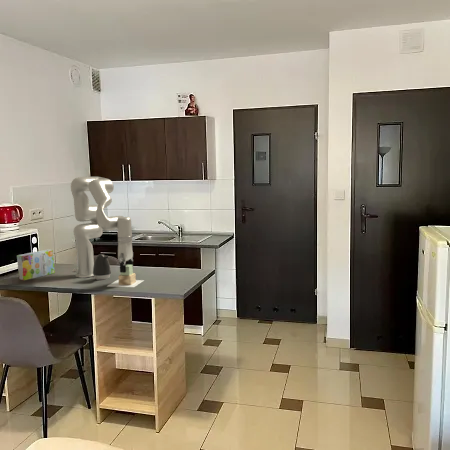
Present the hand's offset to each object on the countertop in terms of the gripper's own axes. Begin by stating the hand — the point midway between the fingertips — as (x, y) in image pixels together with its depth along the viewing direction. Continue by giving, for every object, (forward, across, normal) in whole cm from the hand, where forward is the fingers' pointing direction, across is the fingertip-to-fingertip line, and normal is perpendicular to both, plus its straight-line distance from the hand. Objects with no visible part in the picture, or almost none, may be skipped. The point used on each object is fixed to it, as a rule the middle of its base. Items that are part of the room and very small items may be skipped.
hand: (126, 270), depth 254 cm
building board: (+8, 0, -1) cm, 8 cm away
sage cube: (+2, 0, 0) cm, 2 cm away
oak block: (+7, 0, 0) cm, 7 cm away
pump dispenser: (+8, -10, -20) cm, 24 cm away
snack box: (+9, -14, -65) cm, 67 cm away
